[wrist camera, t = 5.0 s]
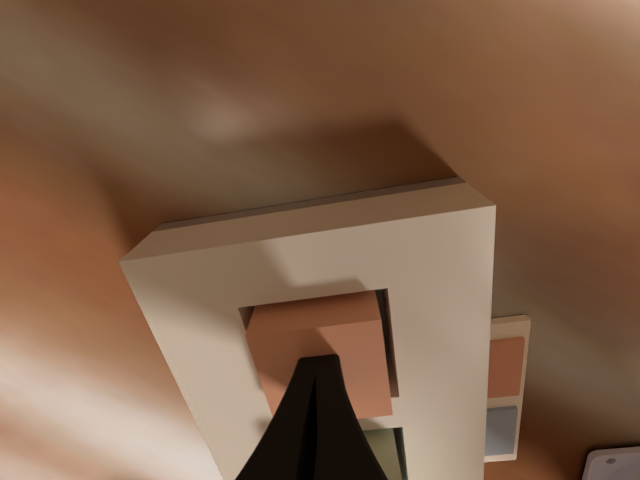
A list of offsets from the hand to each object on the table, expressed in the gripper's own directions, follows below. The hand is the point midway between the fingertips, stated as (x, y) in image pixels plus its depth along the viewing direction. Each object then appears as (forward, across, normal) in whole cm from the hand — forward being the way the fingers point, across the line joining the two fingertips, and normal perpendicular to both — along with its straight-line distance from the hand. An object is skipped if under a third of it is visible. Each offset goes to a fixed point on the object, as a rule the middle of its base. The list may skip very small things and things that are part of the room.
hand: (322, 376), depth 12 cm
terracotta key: (+3, 0, 0) cm, 3 cm away
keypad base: (+4, 0, +7) cm, 8 cm away
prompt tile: (+4, -8, +7) cm, 11 cm away
